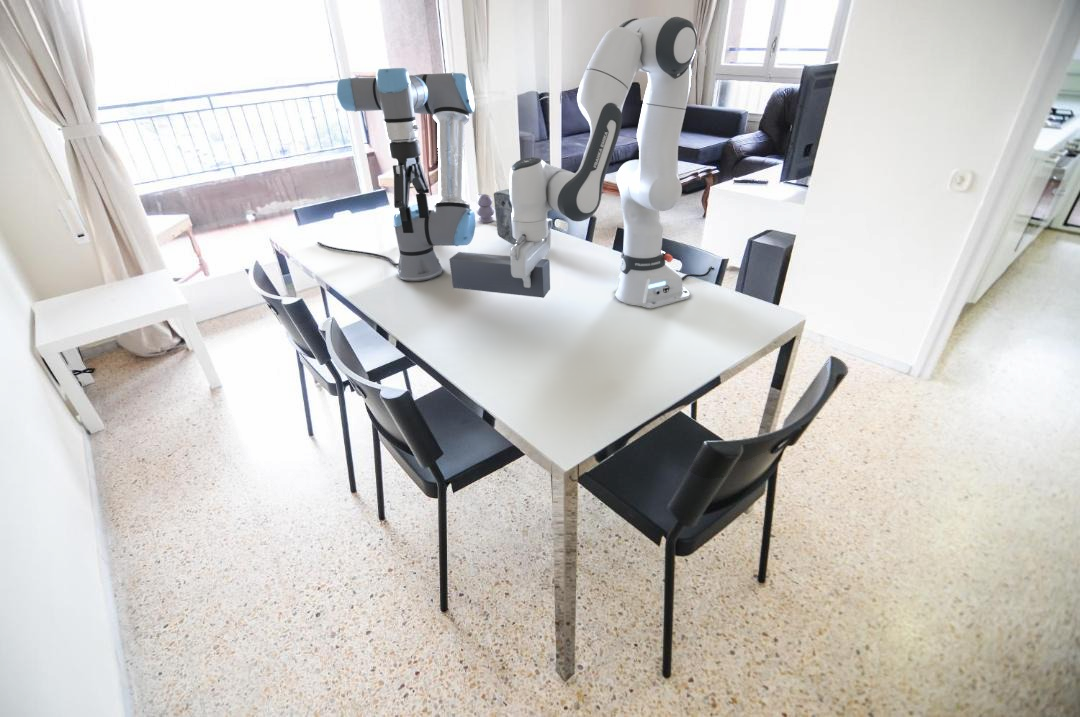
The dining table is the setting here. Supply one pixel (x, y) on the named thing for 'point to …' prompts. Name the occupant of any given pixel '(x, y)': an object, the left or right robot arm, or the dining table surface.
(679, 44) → the right robot arm
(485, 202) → the purple stacked rounded piece
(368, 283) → the dining table surface
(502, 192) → the concrete block
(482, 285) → the bar
